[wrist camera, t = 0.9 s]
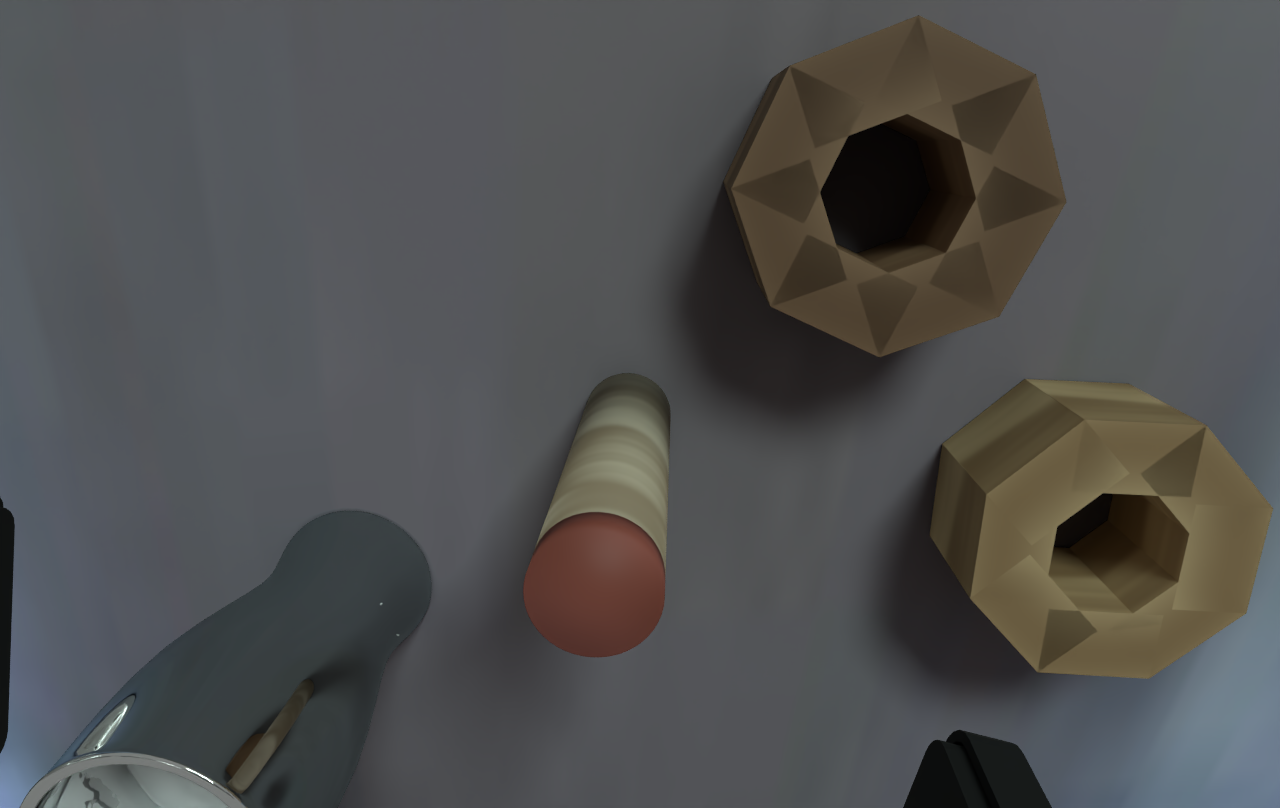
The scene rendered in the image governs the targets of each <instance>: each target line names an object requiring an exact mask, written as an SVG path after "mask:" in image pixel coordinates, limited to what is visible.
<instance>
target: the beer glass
mask: <svg viewBox="0 0 1280 808" xmlns="http://www.w3.org/2000/svg"><path fill="white" fill-rule="evenodd" d="M431 589H432V582H431V574H430V570H429V566H428V563H427V561H426V558H425V556H424V554H423V552H422V551H421V549H420V548H419V546H418V545H417V543H416V542H415V541H414V540H413V539H412V538H411V537H410V536H409V535H408V534H407V533H406V532H405V531H404V530H402V529H401V528H400V527H398V526H397V525H396V524H394V523H392V522H391V521H389V520H387V519H385V518H383V517H380V516H378V515H375V514H371V513H367V512H362V511H337V512H332V513H328V514H325V515H322V516H320V517H318V518H316V519H314V520H312V521H310V522H309V523H307V524H306V525H304V526H303V527H302V528H301V529H300V530H299V531H298V532H297V533H296V534H295V535H294V536H293V538H292V539H291V540H290V542H289V543H288V545H287V546H286V548H285V550H284V552H283V554H282V556H281V558H280V560H279V562H278V564H277V566H276V568H275V569H274V571H273V573H272V574H271V575H270V576H269V577H268V578H267V579H266V580H265V581H264V582H263V583H262V584H260V585H259V586H257V587H256V588H254V589H253V590H251V591H250V592H248V593H246V594H245V595H243V596H241V597H240V598H238V599H236V600H235V601H233V602H232V603H230V604H228V605H227V606H225V607H223V608H222V609H220V610H219V611H217V612H215V613H214V614H212V615H211V616H209V617H207V618H206V619H204V620H203V621H201V622H199V623H198V624H197V625H195V626H194V627H192V628H191V629H190V630H188V631H187V632H185V633H184V634H183V635H181V636H180V637H178V638H177V639H176V640H174V641H173V642H172V643H170V644H169V645H167V646H166V647H165V648H164V649H163V650H161V651H160V652H159V653H158V654H157V655H156V656H155V657H154V658H152V659H151V660H150V661H149V662H148V663H147V664H146V665H145V666H144V667H142V668H141V669H140V670H139V671H138V672H137V673H136V674H135V675H134V676H133V677H132V678H130V680H129V681H128V682H127V683H126V684H125V685H124V686H123V687H122V688H121V689H120V690H119V691H118V692H117V693H116V694H115V695H114V696H113V697H112V698H111V699H110V700H109V702H108V703H107V704H106V705H105V706H104V707H103V708H102V709H101V710H100V711H99V712H98V713H97V715H96V716H95V717H94V718H93V719H92V720H91V722H90V723H89V724H88V725H87V726H86V727H85V729H84V730H83V731H82V732H81V733H80V734H79V736H78V737H77V738H76V739H75V740H74V742H73V743H72V744H71V745H70V746H69V748H68V749H67V750H66V751H65V752H64V754H63V755H62V756H61V757H60V759H59V760H58V761H57V762H56V763H55V764H54V766H53V767H52V768H51V769H50V770H49V771H48V773H47V774H46V775H45V776H43V777H42V778H41V779H40V780H39V781H38V782H37V783H36V784H35V785H34V786H33V787H32V788H31V790H30V791H29V792H28V794H27V795H26V797H25V798H24V800H23V802H22V804H21V806H20V808H338V806H339V804H340V802H341V800H342V798H343V796H344V794H345V791H346V789H347V787H348V785H349V783H350V781H351V778H352V776H353V774H354V772H355V770H356V767H357V765H358V762H359V759H360V756H361V753H362V750H363V747H364V744H365V741H366V738H367V735H368V731H369V728H370V724H371V720H372V716H373V712H374V708H375V704H376V700H377V696H378V692H379V688H380V684H381V680H382V676H383V673H384V669H385V666H386V663H387V661H388V659H389V657H390V655H391V654H392V652H393V651H394V650H395V649H396V648H397V647H398V646H399V645H400V644H401V643H402V642H403V641H404V640H405V639H406V638H407V637H408V636H409V635H410V634H411V633H412V632H413V631H414V630H415V628H416V627H417V626H418V625H419V623H420V622H421V620H422V619H423V617H424V615H425V613H426V611H427V609H428V606H429V603H430V598H431Z"/></svg>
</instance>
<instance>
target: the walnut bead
mask: <svg viewBox="0 0 1280 808" xmlns="http://www.w3.org/2000/svg"><path fill="white" fill-rule="evenodd" d="M879 124H883V125H885V126H887V127H889V128H891V129H893V130H895V131H897V132H899V133H901V134H903V135H905V136H907V137H910V138H912V139H914V140H916V142H917V145H918V149H919V152H920V156H921V160H922V163H923V167H924V170H925V174H926V178H927V181H928V185H929V189H930V191H929V193H928V194H927V196H926V198H925V200H924V202H923V204H922V206H921V207H920V209H919V211H918V213H917V215H916V217H915V219H914V220H913V222H912V224H911V226H910V228H909V230H908V231H907V233H906V235H905V236H904V237H901V238H899V239H896V240H893V241H890V242H887V243H885V244H882V245H879V246H876V247H873V248H871V249H868V250H865V251H862V252H859V253H855V252H853V251H851V250H849V249H847V248H845V247H842V246H840V245H838V244H836V243H835V240H834V236H833V233H832V230H831V227H830V223H829V220H828V217H827V214H826V210H825V207H824V204H823V201H822V198H821V194H820V191H821V189H822V187H823V185H824V183H825V181H826V179H827V177H828V175H829V173H830V171H831V169H832V167H833V165H834V163H835V161H836V159H837V157H838V155H839V153H840V151H841V149H842V147H843V145H844V143H845V141H846V139H847V138H848V136H850V135H852V134H855V133H858V132H860V131H863V130H866V129H868V128H871V127H874V126H876V125H879ZM723 183H724V186H725V189H726V192H727V195H728V198H729V201H730V204H731V207H732V210H733V213H734V216H735V219H736V222H737V225H738V227H739V230H740V233H741V236H742V239H743V242H744V245H745V248H746V251H747V254H748V257H749V260H750V263H751V266H752V269H753V272H754V275H755V278H756V281H757V284H758V285H759V287H760V289H761V291H762V292H763V294H764V296H765V298H766V300H767V301H768V303H769V305H770V307H772V308H775V309H777V310H779V311H781V312H783V313H785V314H787V315H790V316H792V317H794V318H796V319H798V320H800V321H802V322H805V323H807V324H809V325H811V326H813V327H815V328H817V329H820V330H822V331H824V332H826V333H828V334H830V335H832V336H834V337H837V338H839V339H841V340H843V341H845V342H847V343H849V344H852V345H854V346H856V347H858V348H860V349H862V350H864V351H867V352H869V353H871V354H873V355H875V356H877V357H882V356H885V355H888V354H890V353H893V352H896V351H899V350H902V349H905V348H908V347H911V346H914V345H917V344H920V343H923V342H926V341H929V340H932V339H935V338H938V337H940V336H943V335H946V334H949V333H952V332H955V331H958V330H961V329H964V328H967V327H970V326H973V325H976V324H979V323H982V322H985V321H988V320H991V319H993V318H996V317H999V316H1000V314H1001V312H1002V311H1003V309H1004V307H1005V306H1006V304H1007V302H1008V301H1009V299H1010V297H1011V295H1012V294H1013V292H1014V290H1015V289H1016V287H1017V285H1018V284H1019V282H1020V280H1021V278H1022V277H1023V275H1024V273H1025V272H1026V270H1027V268H1028V267H1029V265H1030V263H1031V261H1032V260H1033V258H1034V256H1035V255H1036V253H1037V251H1038V250H1039V248H1040V246H1041V244H1042V243H1043V241H1044V239H1045V238H1046V236H1047V234H1048V233H1049V231H1050V229H1051V227H1052V226H1053V224H1054V222H1055V221H1056V219H1057V217H1058V215H1059V214H1060V212H1061V210H1062V209H1063V207H1064V205H1065V204H1066V198H1065V194H1064V190H1063V186H1062V182H1061V177H1060V173H1059V169H1058V165H1057V161H1056V156H1055V152H1054V148H1053V144H1052V140H1051V135H1050V131H1049V127H1048V123H1047V119H1046V114H1045V110H1044V106H1043V102H1042V98H1041V93H1040V89H1039V85H1038V81H1037V77H1036V74H1034V73H1032V72H1030V71H1028V70H1026V69H1024V68H1022V67H1020V66H1018V65H1016V64H1014V63H1012V62H1010V61H1008V60H1006V59H1004V58H1002V57H1000V56H998V55H996V54H994V53H992V52H990V51H988V50H986V49H984V48H982V47H980V46H979V45H977V44H975V43H973V42H971V41H969V40H967V39H965V38H963V37H961V36H959V35H957V34H955V33H953V32H951V31H949V30H947V29H945V28H943V27H941V26H939V25H937V24H935V23H933V22H931V21H929V20H927V19H925V18H923V17H921V16H919V15H918V16H916V17H913V18H911V19H908V20H905V21H903V22H900V23H898V24H895V25H893V26H890V27H888V28H885V29H882V30H880V31H877V32H875V33H872V34H870V35H867V36H865V37H862V38H859V39H857V40H854V41H852V42H849V43H847V44H844V45H842V46H839V47H836V48H834V49H831V50H829V51H826V52H824V53H821V54H819V55H816V56H813V57H811V58H808V59H806V60H803V61H801V62H798V63H795V64H793V65H790V66H788V67H787V68H786V69H784V70H783V71H781V72H780V73H779V74H777V75H776V76H774V77H773V78H772V79H771V81H770V84H769V86H768V88H767V90H766V92H765V94H764V96H763V98H762V100H761V103H760V105H759V107H758V109H757V111H756V113H755V115H754V117H753V120H752V122H751V124H750V126H749V128H748V130H747V132H746V134H745V137H744V139H743V141H742V143H741V145H740V147H739V149H738V151H737V153H736V156H735V158H734V160H733V162H732V164H731V166H730V168H729V170H728V173H727V175H726V177H725V179H724V181H723Z"/></svg>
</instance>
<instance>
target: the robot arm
mask: <svg viewBox="0 0 1280 808" xmlns="http://www.w3.org/2000/svg"><path fill="white" fill-rule="evenodd" d="M14 529H15V525H14V517H13V515H12V513H11V512H10V511H9V510H7V509H6V508H3V502H2V500H1V498H0V753H1V751H2V749H3V747H4V744H5V741H6V738H7V732H8V710H9V679H10V649H11V619H12V589H13V559H14ZM903 808H1052V807H1051V805H1050V803H1049V801H1048V799H1047V798H1046V796H1045V794H1044V792H1043V790H1042V788H1041V786H1040V784H1039V782H1038V780H1037V779H1036V777H1035V775H1034V773H1033V771H1032V769H1031V767H1030V765H1029V763H1028V762H1027V760H1026V758H1025V756H1024V754H1023V752H1022V751H1021V750H1020V748H1019V747H1018V746H1017V745H1015V744H1013V743H1010V742H1006V741H1002V740H998V739H994V738H990V737H986V736H982V735H978V734H974V733H970V732H966V731H962V730H957V731H954V732H953V733H952V734H951V735H950V736H949V737H948V739H947V741H946V742H944V741H940V740H935V741H933V742H932V743H931V744H930V745H929V746H928V748H927V750H926V752H925V755H924V757H923V760H922V762H921V765H920V767H919V770H918V772H917V775H916V777H915V780H914V782H913V785H912V787H911V790H910V792H909V795H908V797H907V800H906V802H905V804H904V807H903Z"/></svg>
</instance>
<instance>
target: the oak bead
mask: <svg viewBox="0 0 1280 808" xmlns="http://www.w3.org/2000/svg"><path fill="white" fill-rule="evenodd" d="M1102 493H1111V494H1113V496H1112V501H1111V506H1110V511H1109V516H1108V520H1107V521H1106V522H1104V523H1103V524H1102V525H1100V526H1099V527H1097V528H1096V529H1095V530H1093V531H1092V532H1091V533H1089V534H1088V535H1086V536H1085V537H1084V538H1082V539H1081V540H1080V541H1078V542H1077V543H1075V544H1074V545H1073V546H1071V547H1070V548H1061V547H1054V542H1055V536H1056V531H1057V526H1059V525H1060V524H1062V523H1063V522H1064V521H1066V520H1067V519H1068V518H1070V517H1071V516H1072V515H1074V514H1075V513H1076V512H1078V511H1079V510H1081V509H1082V508H1083V507H1085V506H1086V505H1087V504H1089V503H1090V502H1091V501H1093V500H1094V499H1096V498H1097V497H1098V496H1100V495H1101V494H1102ZM1272 511H1273V508H1272V507H1271V505H1270V504H1269V503H1268V502H1267V500H1266V499H1265V498H1264V497H1263V495H1262V494H1261V493H1260V492H1259V490H1258V489H1257V488H1256V487H1255V485H1254V484H1253V483H1252V482H1251V480H1250V479H1249V478H1248V477H1247V475H1246V474H1245V473H1244V472H1243V470H1242V469H1241V468H1240V467H1239V465H1238V464H1237V463H1236V462H1235V460H1234V459H1233V458H1232V457H1231V455H1230V454H1229V453H1228V452H1227V450H1226V449H1225V448H1224V447H1223V445H1222V444H1221V443H1220V442H1219V440H1218V439H1217V438H1216V437H1215V435H1214V434H1213V433H1212V432H1211V431H1210V429H1209V428H1208V427H1207V425H1205V424H1203V423H1201V422H1199V421H1197V420H1195V419H1194V418H1192V417H1190V416H1188V415H1186V414H1184V413H1182V412H1180V411H1179V410H1177V409H1175V408H1173V407H1171V406H1169V405H1167V404H1165V403H1164V402H1162V401H1160V400H1158V399H1156V398H1154V397H1152V396H1150V395H1149V394H1147V393H1145V392H1143V391H1141V390H1139V389H1137V388H1135V387H1134V386H1132V385H1130V384H1122V383H1101V382H1079V381H1057V380H1035V379H1024V380H1023V381H1022V382H1020V383H1019V384H1018V385H1017V386H1015V387H1014V388H1013V389H1011V390H1010V391H1009V392H1008V393H1006V394H1005V395H1004V396H1003V397H1001V398H1000V399H999V400H997V401H996V402H995V403H994V404H992V405H991V406H990V407H989V408H987V409H986V410H985V411H983V412H982V413H981V414H980V415H978V416H977V417H976V418H975V419H973V420H972V421H971V422H970V423H968V424H967V425H966V426H964V427H963V428H962V429H961V430H959V431H958V432H957V433H956V434H954V435H953V436H952V437H950V438H949V439H948V440H947V441H945V442H944V443H943V444H942V450H941V457H940V464H939V471H938V479H937V486H936V493H935V500H934V507H933V514H932V521H931V528H930V537H931V538H932V540H933V541H934V543H935V545H936V546H937V548H938V549H939V551H940V552H941V554H942V556H943V557H944V559H945V560H946V562H947V563H948V565H949V566H950V568H951V570H952V571H953V573H954V574H955V576H956V577H957V579H958V581H959V582H960V584H961V585H962V587H963V588H964V590H965V591H966V593H967V595H968V596H969V598H970V599H971V600H972V601H973V602H974V603H975V604H976V605H977V607H978V608H979V609H980V610H981V611H982V612H983V613H984V614H985V615H986V616H987V617H988V619H989V620H990V621H991V622H992V623H993V624H994V625H995V626H996V627H997V628H998V630H999V631H1000V632H1001V633H1002V634H1003V635H1004V636H1005V637H1006V638H1007V639H1008V640H1009V642H1010V643H1011V644H1012V645H1013V646H1014V647H1015V648H1016V649H1017V650H1018V651H1019V653H1020V654H1021V655H1022V656H1023V657H1024V658H1025V659H1026V660H1027V661H1028V662H1029V663H1030V665H1031V666H1032V667H1033V668H1034V669H1035V670H1036V671H1037V672H1040V673H1058V674H1076V675H1094V676H1112V677H1130V678H1148V679H1149V678H1150V677H1152V676H1153V675H1155V674H1156V673H1158V672H1159V671H1161V670H1162V669H1164V668H1165V667H1167V666H1168V665H1170V664H1171V663H1173V662H1174V661H1176V660H1177V659H1179V658H1180V657H1182V656H1183V655H1185V654H1186V653H1188V652H1189V651H1191V650H1192V649H1194V648H1195V647H1197V646H1198V645H1200V644H1201V643H1203V642H1204V641H1206V640H1207V639H1209V638H1210V637H1212V636H1213V635H1214V634H1216V633H1217V632H1219V631H1220V630H1222V629H1223V628H1225V627H1226V626H1228V625H1229V624H1231V623H1232V622H1234V621H1235V620H1237V619H1238V618H1240V617H1241V616H1243V615H1244V614H1246V612H1247V608H1248V604H1249V600H1250V596H1251V592H1252V588H1253V585H1254V581H1255V577H1256V573H1257V569H1258V565H1259V561H1260V557H1261V553H1262V549H1263V546H1264V542H1265V538H1266V534H1267V530H1268V526H1269V522H1270V518H1271V514H1272Z"/></svg>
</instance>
